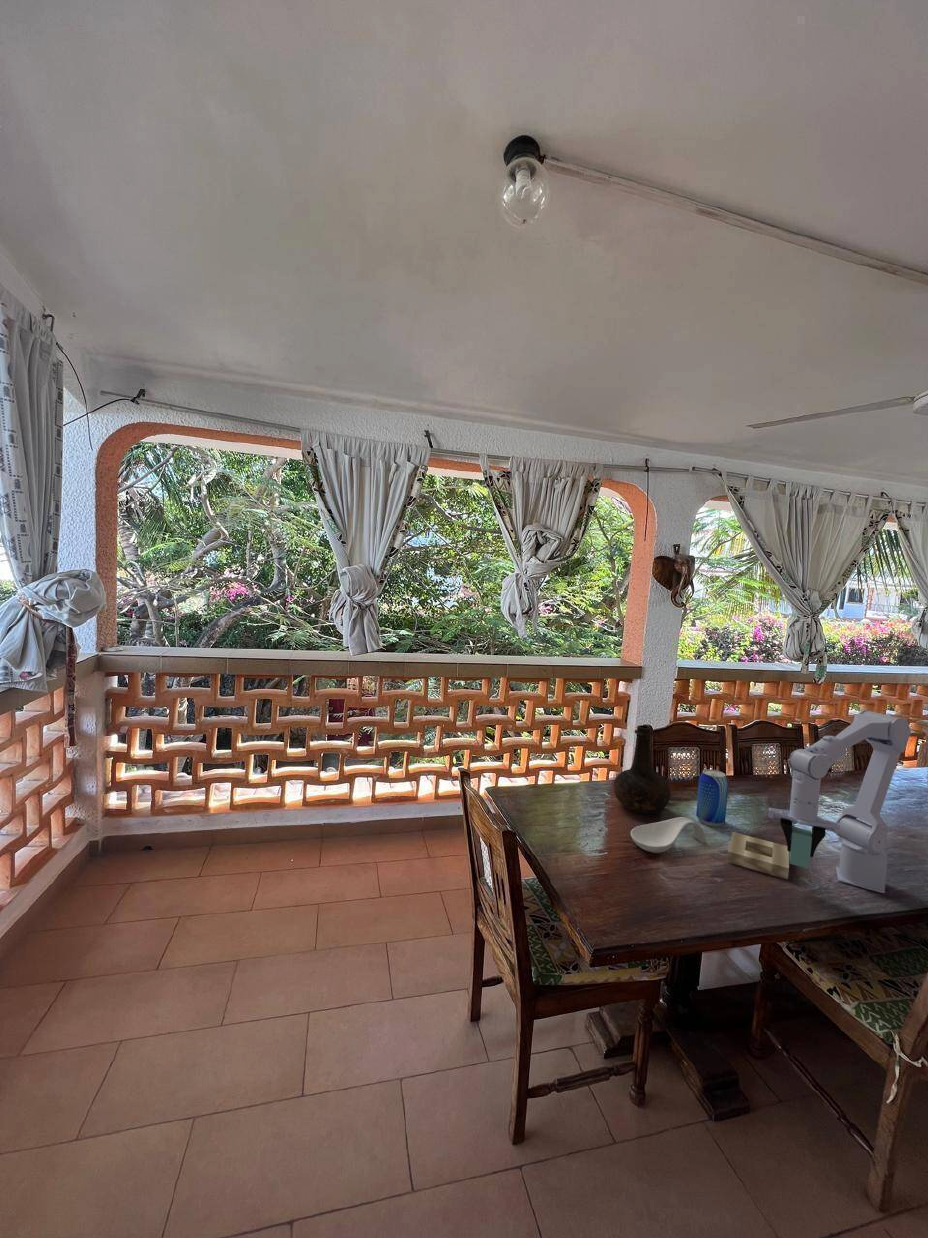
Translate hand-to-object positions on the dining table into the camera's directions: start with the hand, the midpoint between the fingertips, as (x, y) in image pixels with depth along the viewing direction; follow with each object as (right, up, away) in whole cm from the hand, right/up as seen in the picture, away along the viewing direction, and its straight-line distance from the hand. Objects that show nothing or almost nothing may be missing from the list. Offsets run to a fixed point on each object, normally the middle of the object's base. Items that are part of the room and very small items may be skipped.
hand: (799, 852), depth 127 cm
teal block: (0, -3, 0) cm, 3 cm away
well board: (-2, -8, +14) cm, 17 cm away
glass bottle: (-24, -6, +45) cm, 51 cm away
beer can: (-5, -7, +37) cm, 38 cm away
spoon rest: (-25, -8, +21) cm, 33 cm away
